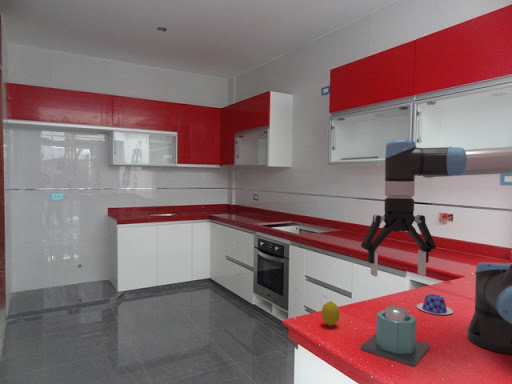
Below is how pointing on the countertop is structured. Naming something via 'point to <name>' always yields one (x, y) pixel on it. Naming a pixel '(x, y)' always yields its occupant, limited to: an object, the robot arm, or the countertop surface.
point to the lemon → (330, 313)
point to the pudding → (434, 305)
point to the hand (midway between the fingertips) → (397, 275)
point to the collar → (396, 334)
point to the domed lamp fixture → (406, 358)
